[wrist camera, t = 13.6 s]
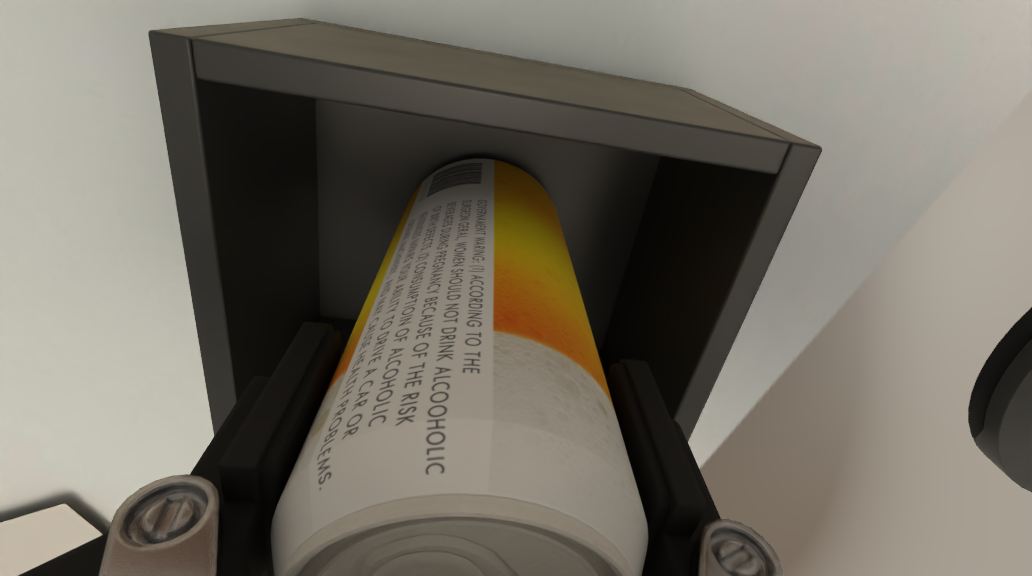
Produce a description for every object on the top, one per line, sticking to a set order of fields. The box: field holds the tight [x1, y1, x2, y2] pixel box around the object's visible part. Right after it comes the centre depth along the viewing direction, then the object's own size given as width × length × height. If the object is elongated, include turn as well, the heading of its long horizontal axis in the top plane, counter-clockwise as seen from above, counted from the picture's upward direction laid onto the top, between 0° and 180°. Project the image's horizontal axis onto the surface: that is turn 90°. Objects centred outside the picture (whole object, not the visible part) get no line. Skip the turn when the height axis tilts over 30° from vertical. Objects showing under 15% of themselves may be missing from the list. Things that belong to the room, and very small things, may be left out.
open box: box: [149, 18, 822, 442], centre depth 18 cm, size 15×13×9 cm
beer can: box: [270, 159, 648, 576], centre depth 14 cm, size 6×6×15 cm
